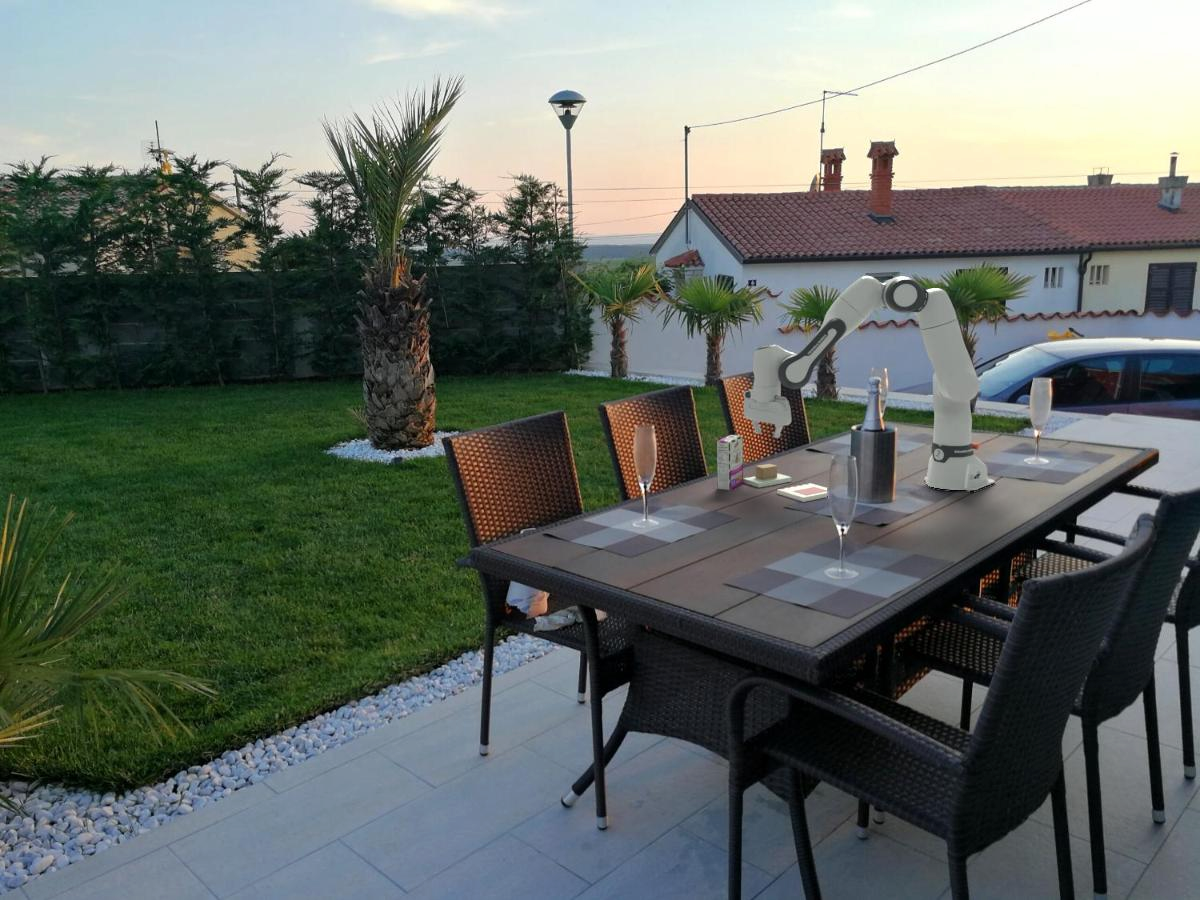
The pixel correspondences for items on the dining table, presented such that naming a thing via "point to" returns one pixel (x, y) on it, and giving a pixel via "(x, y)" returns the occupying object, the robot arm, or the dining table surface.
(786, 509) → the dining table surface
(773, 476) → the stub
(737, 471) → the candy bar box
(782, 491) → the board
